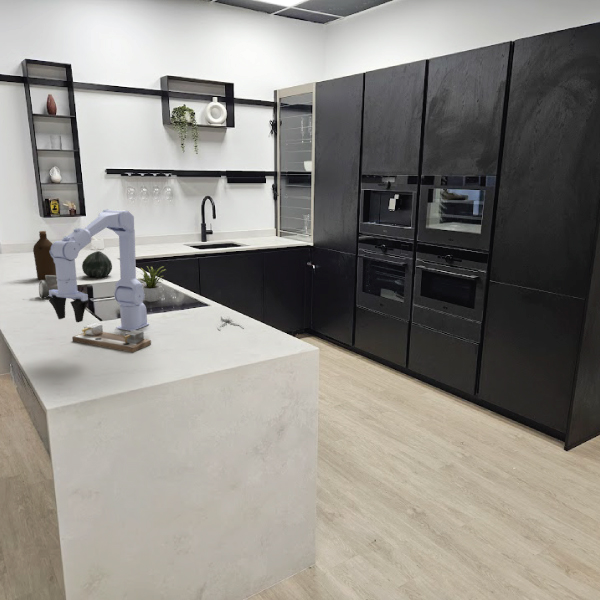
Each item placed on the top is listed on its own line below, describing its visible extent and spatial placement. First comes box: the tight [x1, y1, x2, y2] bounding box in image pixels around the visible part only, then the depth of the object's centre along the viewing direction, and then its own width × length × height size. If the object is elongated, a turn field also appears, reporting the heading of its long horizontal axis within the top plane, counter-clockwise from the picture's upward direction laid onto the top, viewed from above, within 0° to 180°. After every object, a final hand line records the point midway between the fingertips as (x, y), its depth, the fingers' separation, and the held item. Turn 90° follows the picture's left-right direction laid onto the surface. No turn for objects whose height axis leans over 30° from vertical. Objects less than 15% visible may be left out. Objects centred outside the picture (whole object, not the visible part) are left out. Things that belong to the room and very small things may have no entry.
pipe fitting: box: [38, 275, 58, 299], centre depth 240 cm, size 12×8×10 cm
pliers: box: [216, 315, 245, 331], centre depth 203 cm, size 10×2×15 cm
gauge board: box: [72, 329, 152, 353], centre depth 178 cm, size 9×26×4 cm, turn 67°
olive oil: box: [32, 230, 56, 281], centre depth 277 cm, size 11×11×25 cm
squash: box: [81, 250, 113, 278], centre depth 285 cm, size 14×15×15 cm
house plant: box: [137, 265, 168, 303], centre depth 235 cm, size 14×14×16 cm
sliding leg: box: [81, 322, 104, 336], centre depth 181 cm, size 7×4×3 cm, turn 157°
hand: (70, 320), depth 169 cm, fingers open, 7 cm apart
